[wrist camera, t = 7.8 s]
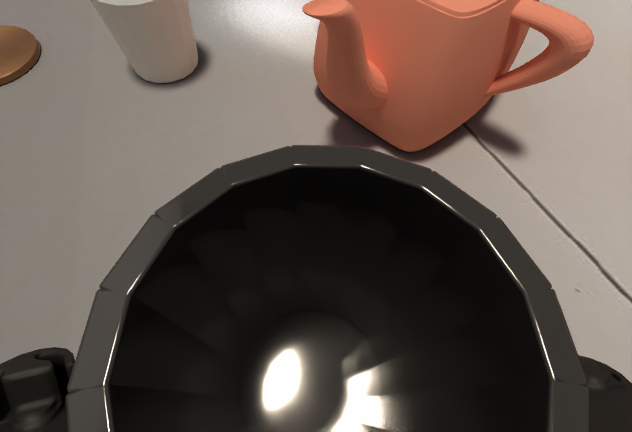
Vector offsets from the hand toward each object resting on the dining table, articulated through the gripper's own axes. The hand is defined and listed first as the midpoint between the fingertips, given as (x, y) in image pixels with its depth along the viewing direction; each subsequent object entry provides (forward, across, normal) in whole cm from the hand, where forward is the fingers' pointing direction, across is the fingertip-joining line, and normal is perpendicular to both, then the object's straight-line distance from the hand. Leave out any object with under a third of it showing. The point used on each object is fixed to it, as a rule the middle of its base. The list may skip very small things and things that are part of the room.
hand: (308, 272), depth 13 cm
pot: (+20, +9, +8) cm, 24 cm away
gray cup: (0, 0, -5) cm, 5 cm away
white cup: (+23, -12, +10) cm, 27 cm away
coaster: (+23, -27, +11) cm, 37 cm away
